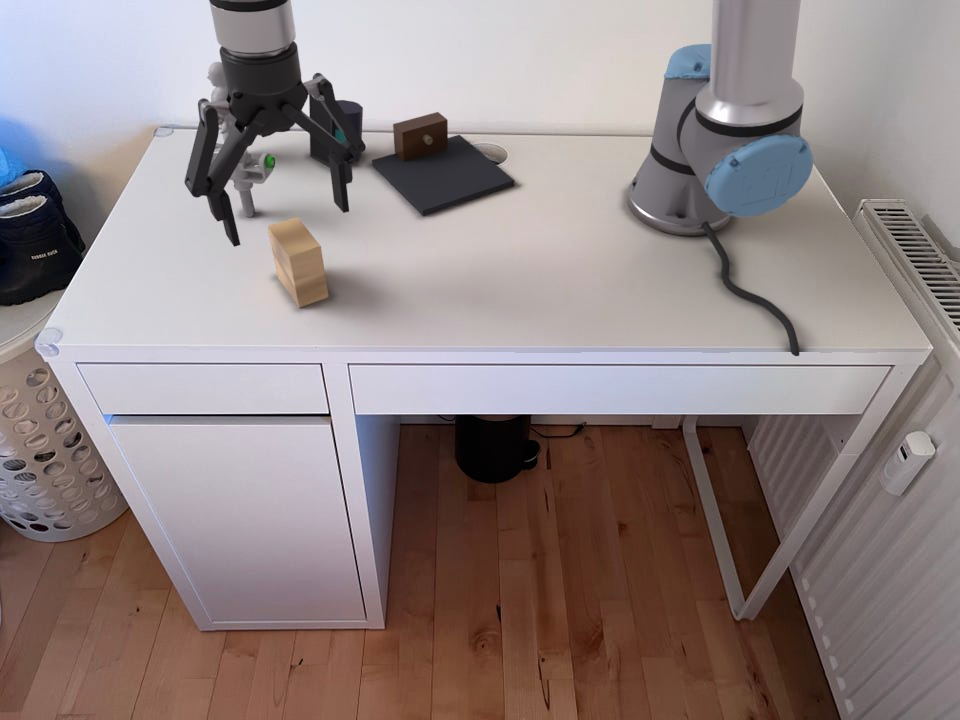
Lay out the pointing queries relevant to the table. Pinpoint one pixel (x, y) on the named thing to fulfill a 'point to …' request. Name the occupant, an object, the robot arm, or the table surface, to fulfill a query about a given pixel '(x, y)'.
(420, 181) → the mat
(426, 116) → the dark brown wooden block
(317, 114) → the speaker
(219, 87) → the figurine
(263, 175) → the mechanical component
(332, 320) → the table surface
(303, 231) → the pad block
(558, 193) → the table surface
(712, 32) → the robot arm
